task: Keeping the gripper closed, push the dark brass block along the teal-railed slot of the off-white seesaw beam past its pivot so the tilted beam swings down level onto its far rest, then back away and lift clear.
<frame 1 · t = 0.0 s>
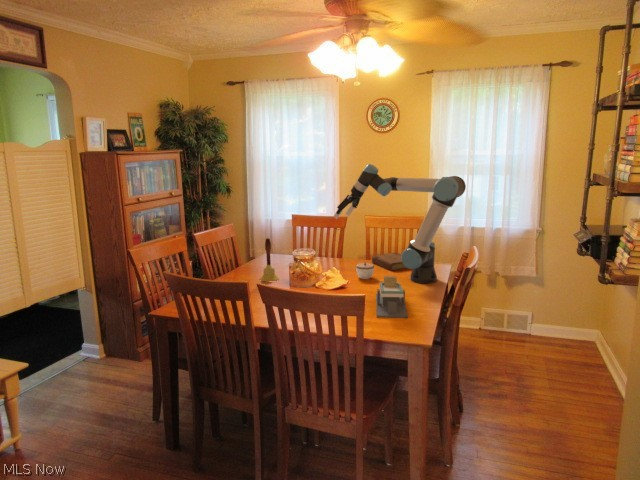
hand: (341, 216, 276), 36 cm above the table, tool tilted 35°, fingers open, 13 cm apart
handbell: (269, 279, 274), on the table
brass rider: (390, 286, 232), point 7 cm above the table, tilted 9°, touching seesaw beam
diary: (393, 266, 301), on the table
seesaw beam: (390, 290, 223), point 8 cm above the table, hinge at 8.9°, touching brass rider
seesaw stand: (390, 305, 225), on the table
lidded jar: (365, 278, 274), on the table
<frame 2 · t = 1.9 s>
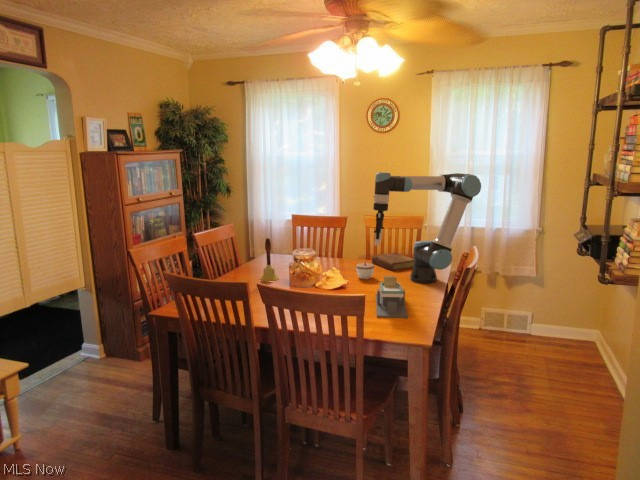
hand: (378, 243, 240), 27 cm above the table, tool pointing down, fingers open, 13 cm apart
nothing on the table moved.
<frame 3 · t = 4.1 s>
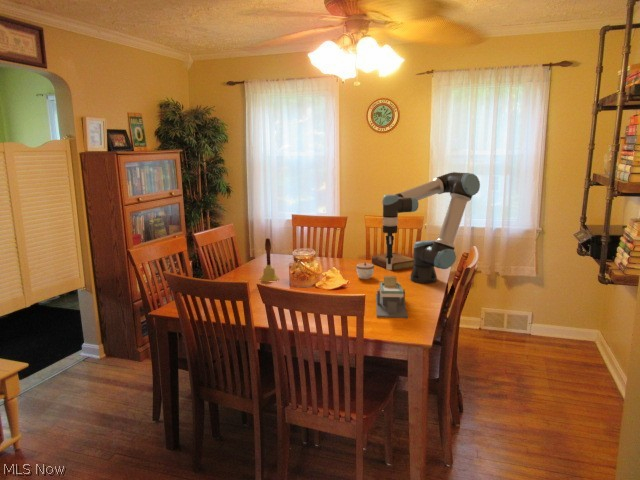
hand: (389, 269, 239), 14 cm above the table, tool pointing down, fingers closed
nothing on the table moved.
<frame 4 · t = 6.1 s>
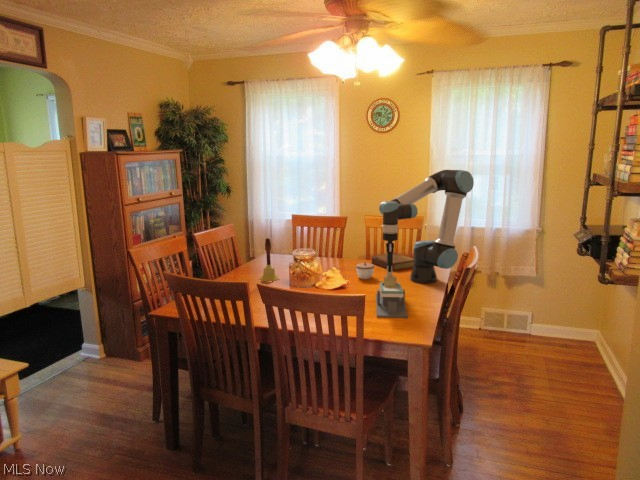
hand: (389, 277, 236), 11 cm above the table, tool pointing down, fingers closed
brass rider: (390, 286, 232), point 7 cm above the table, tilted 9°, touching gripper, seesaw beam
everything else where it was.
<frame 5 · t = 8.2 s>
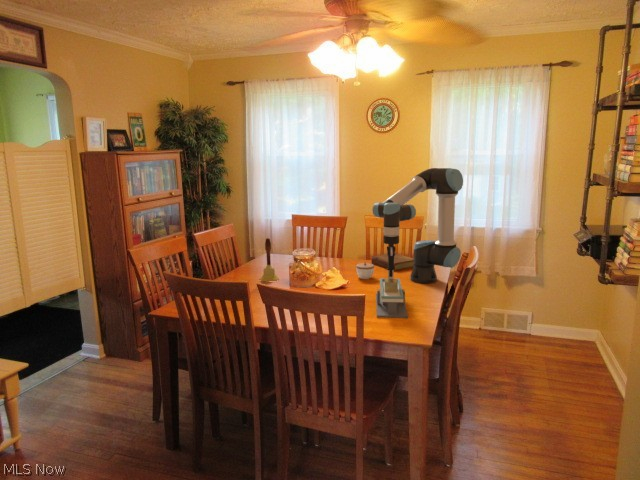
hand: (390, 282, 224), 11 cm above the table, tool pointing down, fingers closed
brass rider: (391, 290, 221), point 8 cm above the table, touching gripper
seesaw beam: (391, 290, 223), point 8 cm above the table, hinge at -0.8°
everything else where it was.
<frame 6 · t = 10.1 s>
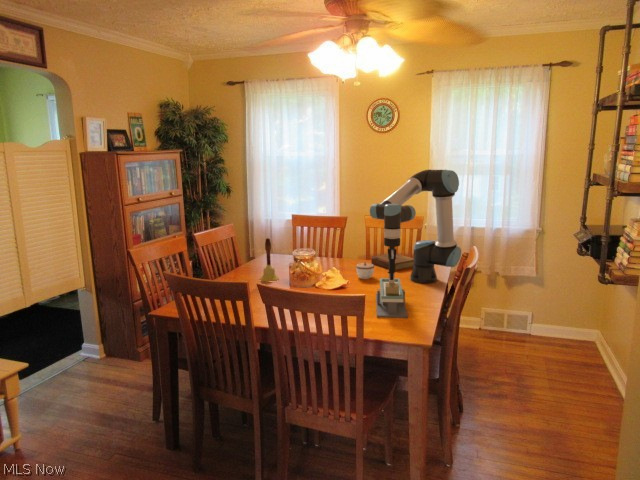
hand: (391, 285, 217), 12 cm above the table, tool pointing down, fingers closed
brass rider: (391, 295, 214), point 8 cm above the table, touching gripper, seesaw beam
seesaw beam: (391, 290, 223), point 8 cm above the table, hinge at -0.8°, touching brass rider
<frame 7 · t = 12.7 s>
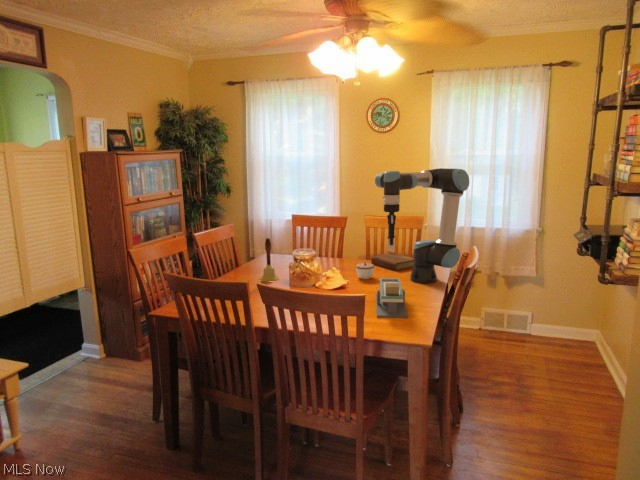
hand: (391, 250, 226), 26 cm above the table, tool pointing down, fingers closed
brass rider: (392, 295, 214), point 8 cm above the table, touching seesaw beam
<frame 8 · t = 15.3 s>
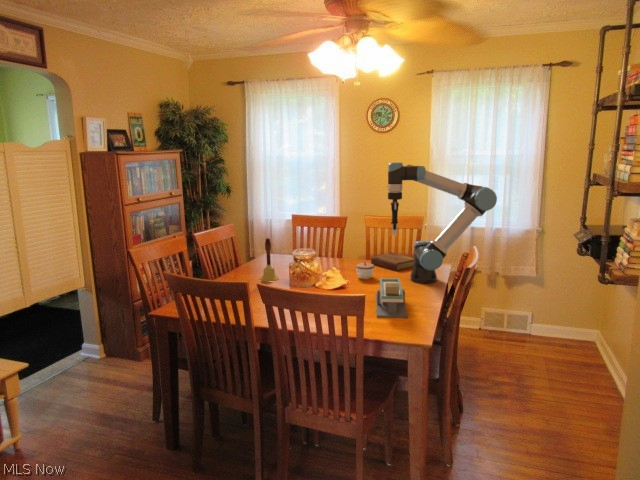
hand: (394, 235, 249), 29 cm above the table, tool pointing down, fingers closed
at the end: seesaw beam at -1° (first picture: +9°); brass rider inside the target area on the seesaw stand (0.3 cm from its centre), point 8.4 cm above the seesaw stand's base; brass rider tilted 1° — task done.
